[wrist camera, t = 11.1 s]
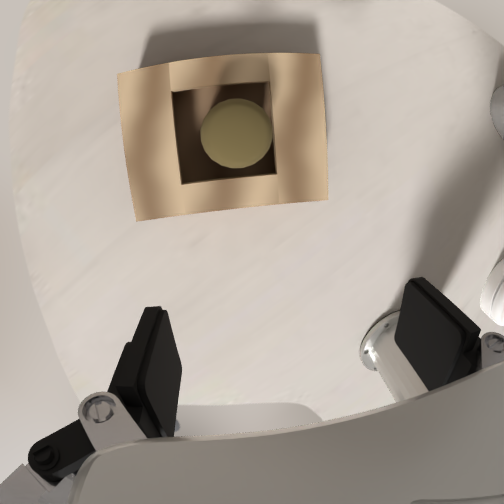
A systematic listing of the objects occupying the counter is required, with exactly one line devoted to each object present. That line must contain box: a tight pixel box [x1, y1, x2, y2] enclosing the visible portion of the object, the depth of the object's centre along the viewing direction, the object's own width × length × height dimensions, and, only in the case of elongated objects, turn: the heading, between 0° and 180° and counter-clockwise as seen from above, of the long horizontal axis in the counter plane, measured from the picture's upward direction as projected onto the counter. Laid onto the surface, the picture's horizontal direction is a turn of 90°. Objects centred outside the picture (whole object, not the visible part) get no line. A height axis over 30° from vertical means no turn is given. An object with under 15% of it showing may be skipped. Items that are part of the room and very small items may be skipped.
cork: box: [200, 99, 273, 168], centre depth 23 cm, size 6×6×11 cm
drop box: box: [117, 53, 328, 222], centre depth 26 cm, size 18×14×6 cm
